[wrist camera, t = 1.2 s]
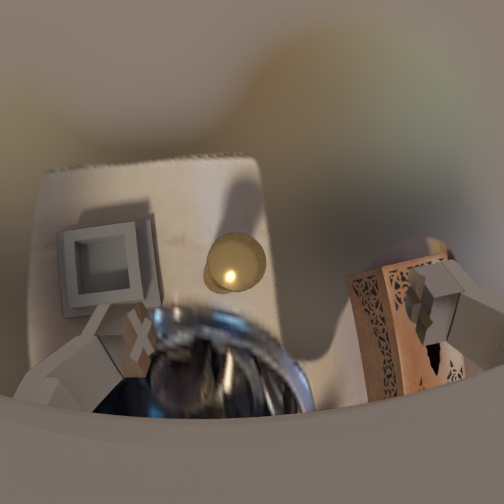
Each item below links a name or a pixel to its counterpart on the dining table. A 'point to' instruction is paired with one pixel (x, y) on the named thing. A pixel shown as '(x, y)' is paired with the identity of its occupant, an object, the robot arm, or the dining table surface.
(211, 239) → the dining table surface
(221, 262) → the gold stepped cylinder
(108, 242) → the socket block
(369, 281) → the tissue box cover
